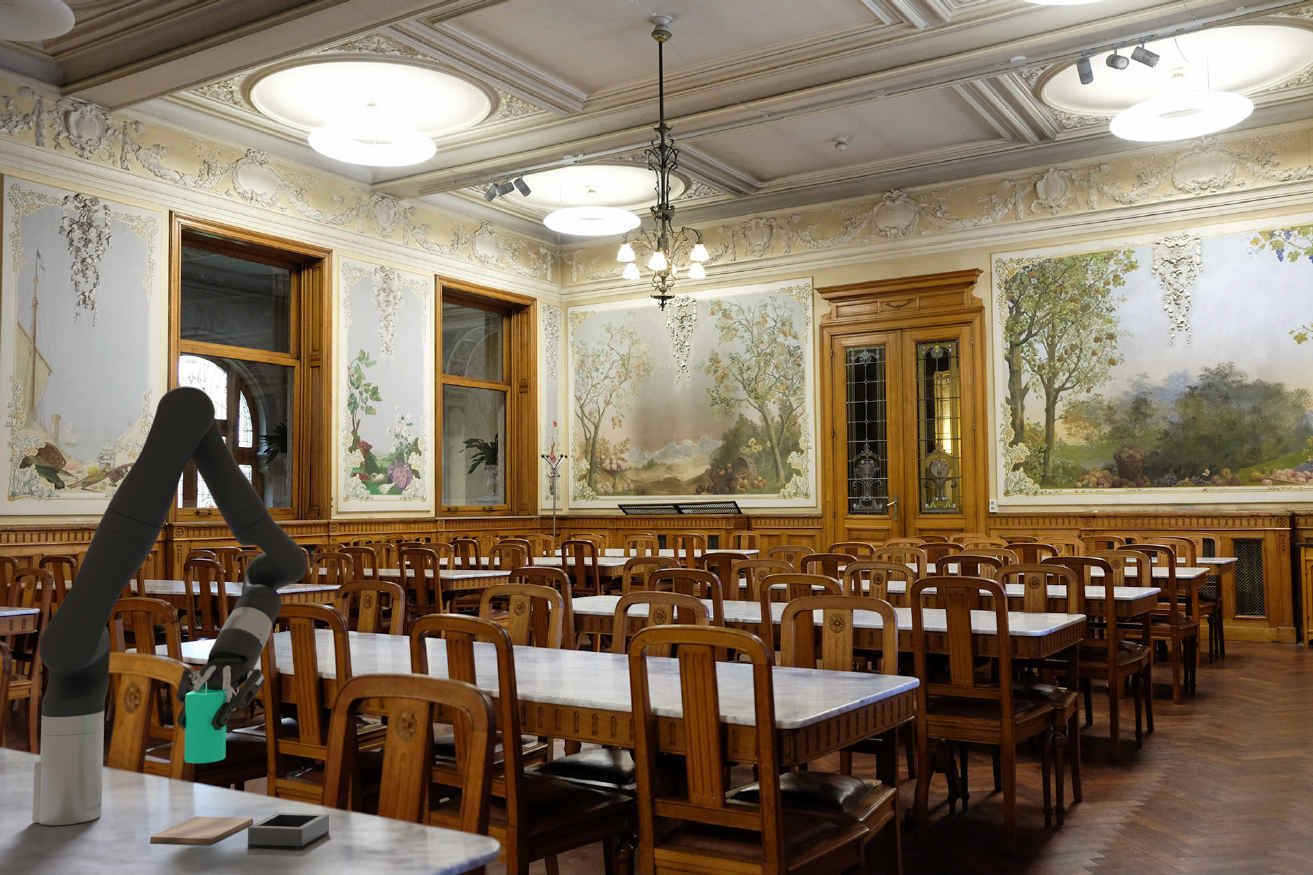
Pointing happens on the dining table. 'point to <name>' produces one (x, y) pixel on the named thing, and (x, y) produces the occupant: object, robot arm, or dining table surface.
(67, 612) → the robot arm
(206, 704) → the candle
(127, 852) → the dining table surface
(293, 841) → the box
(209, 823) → the walnut board
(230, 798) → the dining table surface
